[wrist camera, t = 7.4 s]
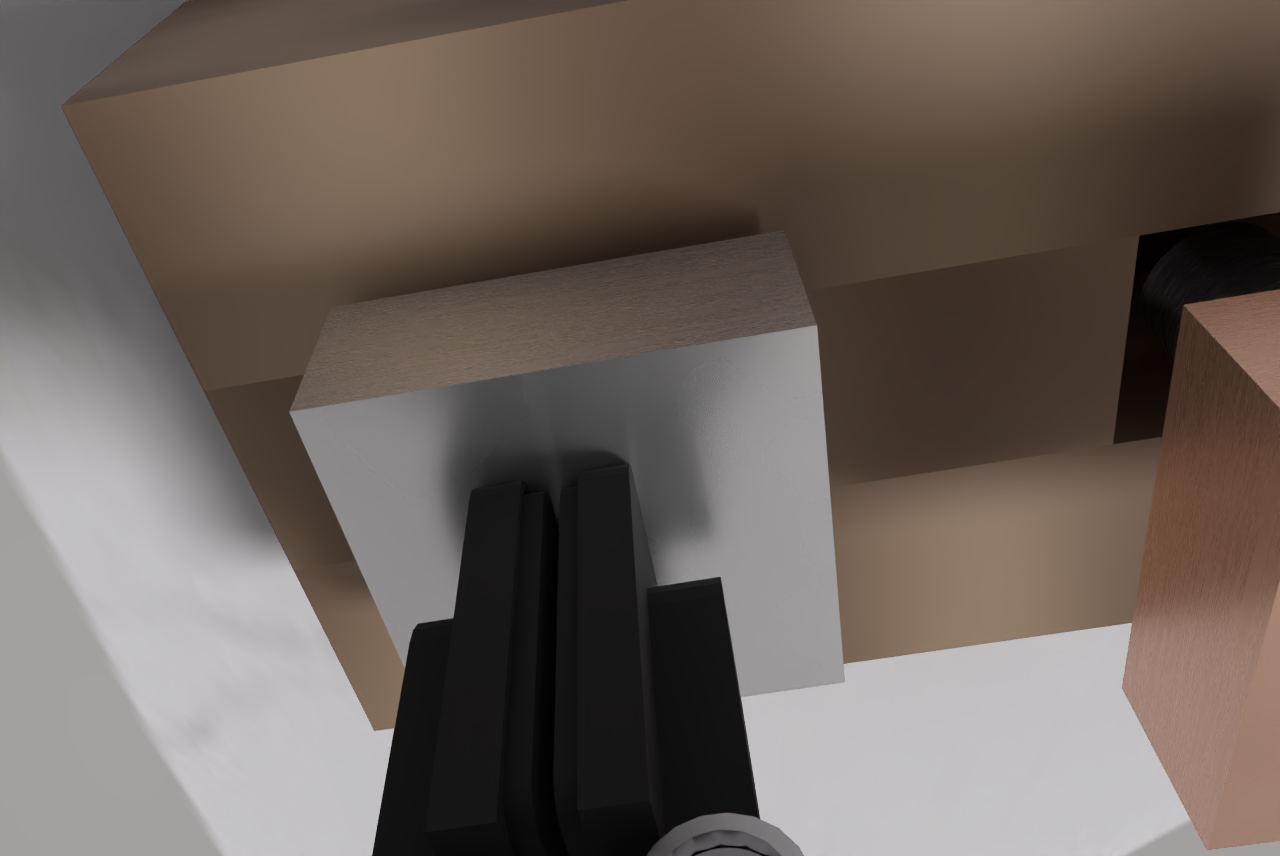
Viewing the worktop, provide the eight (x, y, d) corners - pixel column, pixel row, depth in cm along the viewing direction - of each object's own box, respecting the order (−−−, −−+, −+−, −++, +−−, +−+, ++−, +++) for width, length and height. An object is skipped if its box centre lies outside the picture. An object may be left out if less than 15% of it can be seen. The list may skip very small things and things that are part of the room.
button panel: (2260, -397, 12) (2872, -420, 9) (1828, 336, 18) (2100, 483, 15) (185, 2, 14) (60, 105, 10) (409, 554, 20) (373, 730, 16)
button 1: (740, 103, 14) (817, 324, 10) (772, 398, 17) (844, 682, 12) (387, 166, 15) (289, 412, 10) (478, 445, 18) (437, 740, 13)
